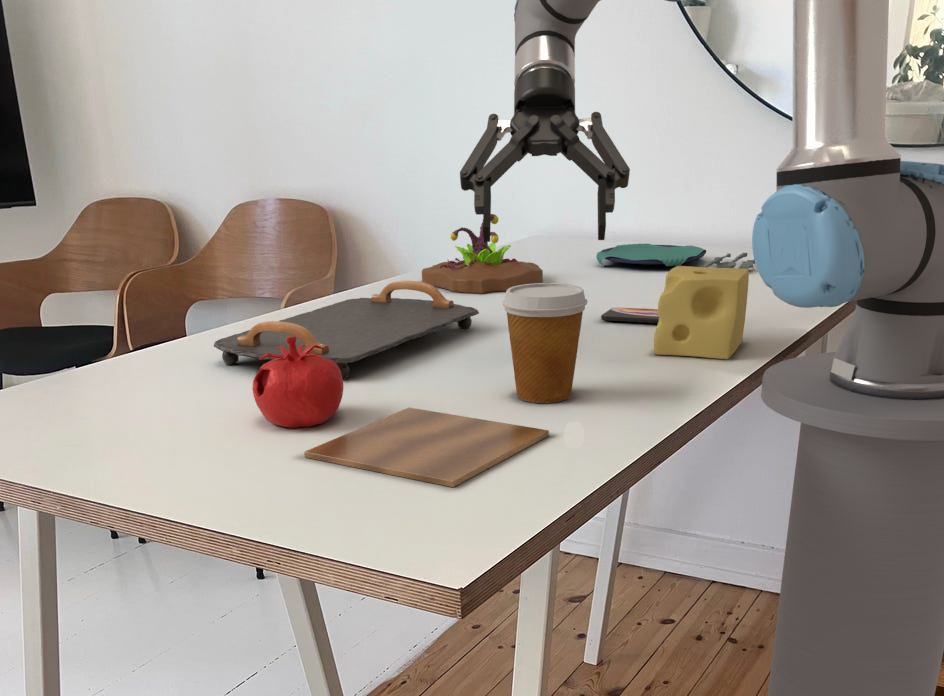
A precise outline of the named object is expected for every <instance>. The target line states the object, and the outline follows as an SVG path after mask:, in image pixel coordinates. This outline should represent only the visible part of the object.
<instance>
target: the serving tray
mask: <svg viewBox="0 0 944 696" xmlns="http://www.w3.org/2000/svg"><path fill="white" fill-rule="evenodd" d="M398 290H407V291H410V290H411V291H416V292H421V293H423V294H426V295H428V296H429V297H430V298H431V299H432V300H430V299H421V298H420V299H419V298H418V299H415V298H399V297H392V293H393V292H394V291H398ZM479 314H480V311H479V309H477V308H475V307H472V306H464V305H462V304H456V303H455V302H454V300H450V299H446V297H445V296H444V295H443V293H442V292H441V291H440V290H439V289H438V288H437V287H435V286H432V285H430V284H427V283H423V282H422V281H418V280H399V281H398V280H397V281H393V282H390V283H388V284H387V285H386V286H385V287H384V288H383V289H382V290H381V291H380V292H379V293H374V294H372V295H371V297H359V298H350V299H346V300H343V301H339V302H335V303H332V304H329V305H327V306H322V307H319V308H317V309H313V310H311V311H307V312H303V313H299V314H297V315H293V316H291V317H287V318H284V319H280V320H271V321H270V320H269V321H263V322H262V321H261V322H259V323H257V324H255V325H254V326H252V327H251V329H249V330H245V331H243V332H240V333H235V334H232V335H229V336H227V337H223V338H220V339H217V340H215V342H214V343H213V347H214V348H216V349H217V350H219V351H220V352H221V351H222V353H221V357H222V360H223V362H224V363H225V365H226V366H235V365H237V362H239V357H248V358H253V359H258V358H261V357H263V356H264V355H265V354H267V353H271V354H276V355H283V353H282V352H281V350H280V348H275V347H280V346H281V347H284V348H285V349H286V350H287V351H288V352H289V345H288V343H287V341H286V338H287V337H289V336H296V338H297V340H296V342H295V343H296V349H298V347H299V346H300V345H304V346H306V347H304V346H303V348H302V352H303V351H304V350H306V349H307V348H309V347H311V346H313V345H318V346H321V347H322V348H325V349H329V350H325V349H320V348H313V349H312V350H311V351H310V352H309V353H310V354H316V355H319V356H321V357H323V358H326V359H329V360H332V361H333V362H335V363H336V364H337V365H338V367H339V369H340V371H341V375H342V379H343V381H345V380H347V379H348V377H349V375H350V374H351V369H350V368H351V367H350V366H349V364H350V363H355V362H359V361H360V360H363V359H366V358H368V357H370V356H373V355H376V354H378V353H380V352H383V351H387V350H389V349H392V348H395V347H398V346H400V345H401V344H403V343H406V342H409V341H412V340H415V339H418V338H421V337H423V336H426V335H428V334H431V333H433V332H435V331H438V330H441V329H444V328H447V327H450V326H451V325H453V324H455V323H456V324H457V326H458V328H459V330H460V331H469V330H470V328H471V327H472V324H473V321H472V317H474V316H476V315H477V316H478V315H479ZM273 359H275V358H274V357H265V358H264V359H263V360H265V361H266V360H267V361H271V360H273ZM258 360H259V359H258Z"/></svg>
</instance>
